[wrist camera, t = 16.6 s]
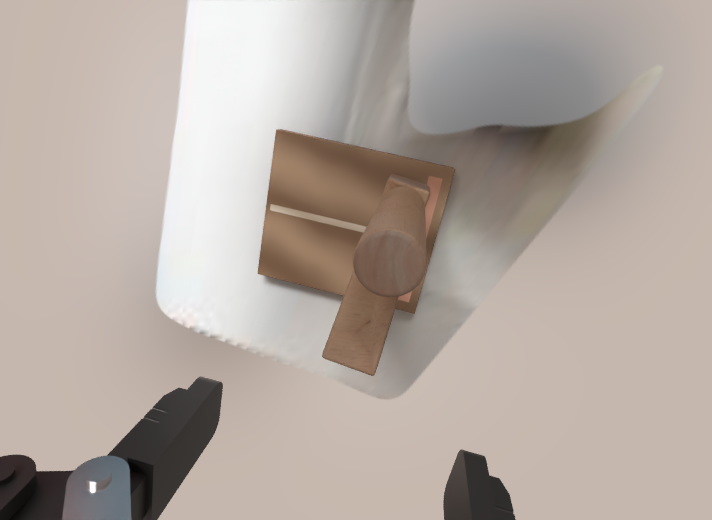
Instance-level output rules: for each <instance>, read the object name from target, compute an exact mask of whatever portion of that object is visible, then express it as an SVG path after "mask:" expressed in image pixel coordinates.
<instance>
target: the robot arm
mask: <svg viewBox="0 0 712 520" xmlns="http://www.w3.org/2000/svg"><path fill="white" fill-rule="evenodd" d="M222 389H223V384H222V383H221V382H219V381H215V380H212V379H208V378H204V377H199V378H198V379H196V380H195V382H194V383H193V384H192V385H191V386H190V387H189V388H188V390H186V389H182V388H178V389H176V390H174V391H172V392H170V393H168V394H166V395H164V396H163V397H162V398H161V399H160V400H159V401H158V403H156V405H155V406H154V407H153V409H151V410H150V411H149V412H148V413H147V414H146V415H145V416H144V418H143V419H141V420H140V422H138V424H137V425H136V426H135V427H134V428H133V429H132V430H131V431H130V432H129V433H128V434H127V435H126V436H125V437H124V438H123V439H122V440H121V441H120V442H119V444H118V445H117V446H116V447H115V448H114V449H113V450H112V451H111V452H110V453H109V454H108V455H107V456H101V457H97V458H93V459H91V460H88V461H86V462H84V463H83V464H81V465H80V466H79V467H77V468H76V469H75V470H73V471H39V472H38V471H36V465H35V462H34V461H33V460H32V459H31V458H29V457H27V456H24V455H8V456H2V457H0V520H157V519H158V518H159V516H160V515H161V513H162V512H163V510H164V509H165V507H166V506H167V504H168V503H169V501H170V500H171V498H172V497H173V495H174V494H175V492H176V490H177V489H178V488H179V486H180V485H181V483H182V482H183V480H184V479H185V477H186V476H187V474H188V473H189V471H190V470H191V468H192V467H193V465H194V464H195V462H196V461H197V459H198V458H199V456H200V455H201V453H202V452H203V450H204V449H205V448H206V446H207V445H208V443H209V441H210V440H211V438H212V437H213V435H214V433H215V431H216V428H217V425H218V422H219V416H220V407H221V398H222ZM444 520H515V516H514V514H513V507H512V503H511V499H510V495H509V493H508V492H507V490H506V489H505V487H504V485H503V483H502V482H501V480H500V479H499V478H496V477H492V476H489V472H488V467H487V462H486V458H485V457H484V456H482V455H478V454H475V453H471V452H468V451H464V450H460V451H459V453H458V455H457V458H456V460H455V463H454V466H453V468H452V471H451V474H450V476H449V479H448V482H447V484H446V488H445V493H444Z"/></svg>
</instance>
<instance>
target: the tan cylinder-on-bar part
mask: <svg viewBox="0 0 712 520" xmlns="http://www.w3.org/2000/svg"><path fill="white" fill-rule="evenodd" d="M429 196H430V187H429V186H428V185H427V184H424V183H421V182H418V181H415V180H412V179H409V178H406V177H403V176H400V175H397V174H391V176H390V177H389V179H388V180H387V183H386V186H385V189H384V192H383V195H382V198H381V201H380V204H379V206H378V207H377V209H376V211H375V213H374V215H373V217H372V218H371V220H370V222H369V224H368V226H367V227H366V229H365V231H364V233H363V235H362V237H361V238H360V240H359V242H358V244H357V246H356V248H355V250H354V254H353V261H352V263H353V268H354V270H353V273H352V276H351V278H350V281H349V284H348V286H347V289H346V292H345V295H344V297H343V300H342V303H341V305H340V308H339V311H338V313H337V316H336V319H335V321H334V324H333V327H332V330H331V332H330V335H329V338H328V340H327V343H326V346H325V348H324V351H323V355H322V357H323V358H325V359H327V360H330V361H333V362H336V363H338V364H341V365H344V366H347V367H349V368H352V369H355V370H357V371H360V372H363V373H366V374H368V375H371V376H373V375H374V374H375V372H376V369H377V366H378V363H379V360H380V356H381V353H382V350H383V346H384V343H385V340H386V337H387V333H388V330H389V327H390V324H391V320H392V317H393V314H394V311H395V307H396V304H397V301H398V298H399V296H402V295H405V294H407V293H409V292H411V291H412V290H413V289H415V288H416V287H417V286H418V285H419V284H420V282H421V281H422V279H423V277H424V276H425V272H426V267H427V249H426V222H425V207H426V204H427V202H428V199H429Z"/></svg>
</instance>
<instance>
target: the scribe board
mask: <svg viewBox="0 0 712 520" xmlns="http://www.w3.org/2000/svg"><path fill="white" fill-rule="evenodd" d="M454 172H455V169H454V168H452V167H448V166H443V165H439V164H435V163H430V162H426V161H421V160H417V159H412V158H408V157H403V156H399V155H394V154H390V153H385V152H381V151H376V150H372V149H367V148H363V147H358V146H354V145H349V144H345V143H340V142H336V141H331V140H327V139H322V138H318V137H313V136H309V135H304V134H300V133H295V132H291V131H286V130H282V129H280V130H276V136H275V143H274V151H273V159H272V167H271V174H270V182H269V190H268V197H267V205H266V213H265V221H264V228H263V236H262V244H261V251H260V259H259V267H258V274H261V275H264V276H268V277H272V278H276V279H280V280H284V281H288V282H292V283H296V284H300V285H304V286H308V287H312V288H316V289H320V290H324V291H328V292H332V293H335V294H339V295H343V296H344V295H345V292H346V289H347V286H348V284H349V281H350V278H351V276H352V273H353V270H354V268H353V263H352V261H353V254H354V250H355V248H356V246H357V244H358V242H359V240H360V238H361V237H362V235H363V233H364V231H365V229H366V227H367V226H368V224H369V222H370V220H371V218H372V217H373V215H374V213H375V211H376V209H377V207H378V206H379V204H380V201H381V198H382V195H383V192H384V189H385V186H386V183H387V180H388V179H389V177H390V176H391V174H397V175H400V176H403V177H406V178H409V179H412V180H415V181H418V182H421V183H424V184H427V185H428V186H429V187H430V196H429V199H428V202H427V204H426V207H425V222H426V249H427V267H428V264H429V260H430V257H431V253H432V250H433V246H434V243H435V239H436V236H437V232H438V228H439V225H440V221H441V218H442V214H443V211H444V207H445V204H446V200H447V197H448V193H449V189H450V186H451V182H452V179H453V175H454ZM427 267H426V271H427ZM425 275H426V272H425ZM424 278H425V276H424V277H423V279H422V281H421V282H420V284H419V285H418V286H417V287H416V288H415V289H413V290H412V291H411V292H409V293H407V294H405V295H402V296H399V298H398V301H397V304H396V307H395V309H399V310H403V311H407V312H410V313H414V314H415V310H416V306H417V303H418V299H419V296H420V292H421V289H422V285H423V282H424Z"/></svg>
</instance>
